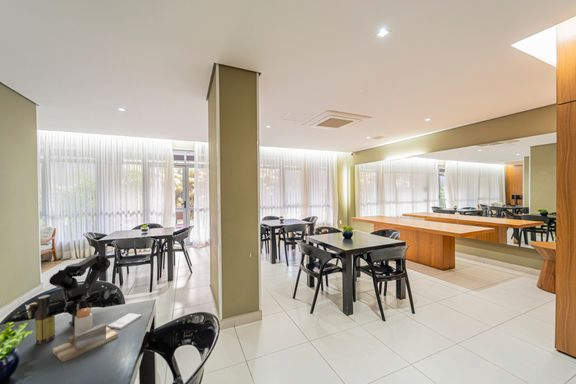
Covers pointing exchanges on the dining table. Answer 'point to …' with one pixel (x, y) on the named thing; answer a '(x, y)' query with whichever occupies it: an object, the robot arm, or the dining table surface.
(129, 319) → the external hard drive
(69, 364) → the dining table surface
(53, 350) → the mount
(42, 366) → the dining table surface
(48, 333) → the sauce bottle
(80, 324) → the white tall block
